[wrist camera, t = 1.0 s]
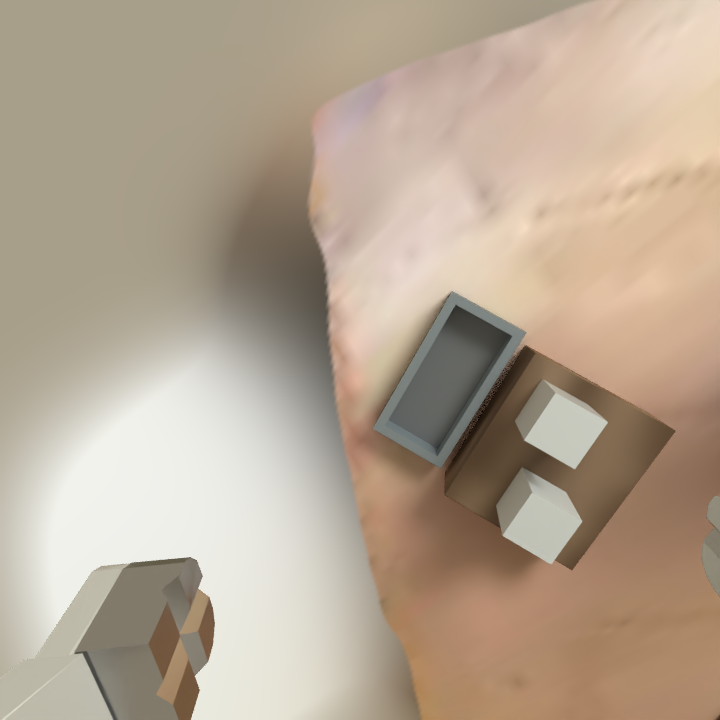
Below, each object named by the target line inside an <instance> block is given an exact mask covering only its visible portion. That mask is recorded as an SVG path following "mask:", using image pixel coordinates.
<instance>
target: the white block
mask: <svg viewBox="0 0 720 720" xmlns="http://www.w3.org/2000/svg"><path fill="white" fill-rule="evenodd" d="M515 422H516V425H517V427H518V429H519V431H520V433H521V435H522V437H523V439H524V441H526V442H528V443H530V444H531V445H533V446H535V447H537V448H538V449H540V450H542V451H544V452H545V453H547V454H549V455H551V456H552V457H554V458H556V459H558V460H559V461H561V462H563V463H565V464H566V465H568V466H570V467H572V468H573V469H576V467H577V466H578V464H579V463H580V461H581V460H582V459H583V457H584V456H585V454H586V453H587V451H588V450H589V449H590V447H591V446H592V444H593V443H594V442H595V440H596V439H597V437H598V436H599V434H600V433H601V432H602V430H603V429H604V427H605V426H606V425H607V423H608V422H607V421H606V420H605V419H604V418H603V417H602V416H601V415H599V414H598V413H597V412H596V411H595V410H594V409H593V408H591V407H590V406H589V405H588V404H586V403H584V402H583V401H581V400H579V399H577V398H575V397H574V396H572V395H570V394H568V393H567V392H565V391H563V390H561V389H559V388H558V387H556V386H554V385H552V384H550V383H549V382H547V381H545V380H543V379H542V380H541V381H540V383H539V385H538V386H537V388H536V389H535V391H534V392H533V394H532V395H531V397H530V398H529V400H528V401H527V403H526V404H525V406H524V407H523V409H522V411H521V412H520V414H519V415H518V417H517V418H516V420H515Z"/></svg>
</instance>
